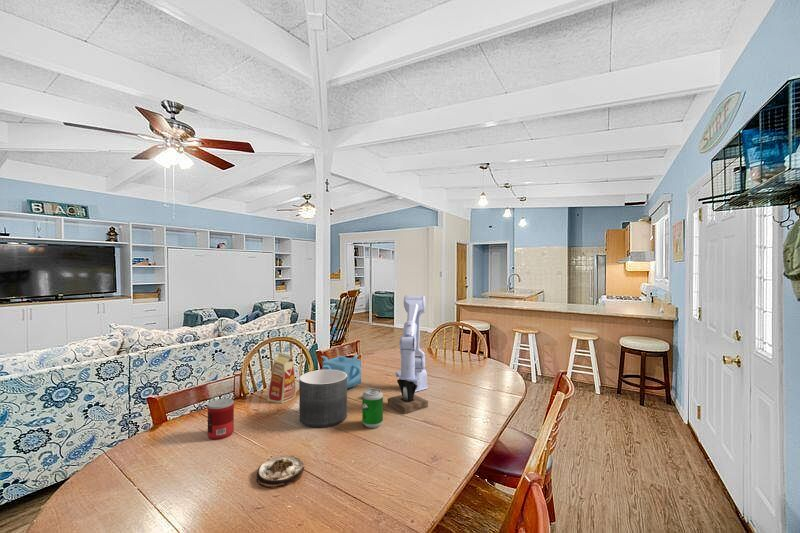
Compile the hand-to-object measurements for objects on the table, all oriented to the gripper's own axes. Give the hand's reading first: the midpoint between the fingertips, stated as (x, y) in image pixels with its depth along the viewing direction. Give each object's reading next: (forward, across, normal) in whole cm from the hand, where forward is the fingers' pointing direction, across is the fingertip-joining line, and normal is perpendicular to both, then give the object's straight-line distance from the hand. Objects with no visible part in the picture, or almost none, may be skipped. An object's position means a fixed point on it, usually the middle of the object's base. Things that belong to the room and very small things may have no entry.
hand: (407, 397), depth 146 cm
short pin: (+3, -16, -8) cm, 18 cm away
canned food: (+3, -18, -67) cm, 69 cm away
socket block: (+3, 0, 0) cm, 3 cm away
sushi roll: (+4, +17, -58) cm, 61 cm away
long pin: (+2, 0, 0) cm, 2 cm away
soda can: (+3, +6, -21) cm, 22 cm away
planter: (+3, -10, -33) cm, 35 cm away
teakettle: (+3, -37, -12) cm, 39 cm away
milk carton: (+3, -38, -39) cm, 55 cm away
